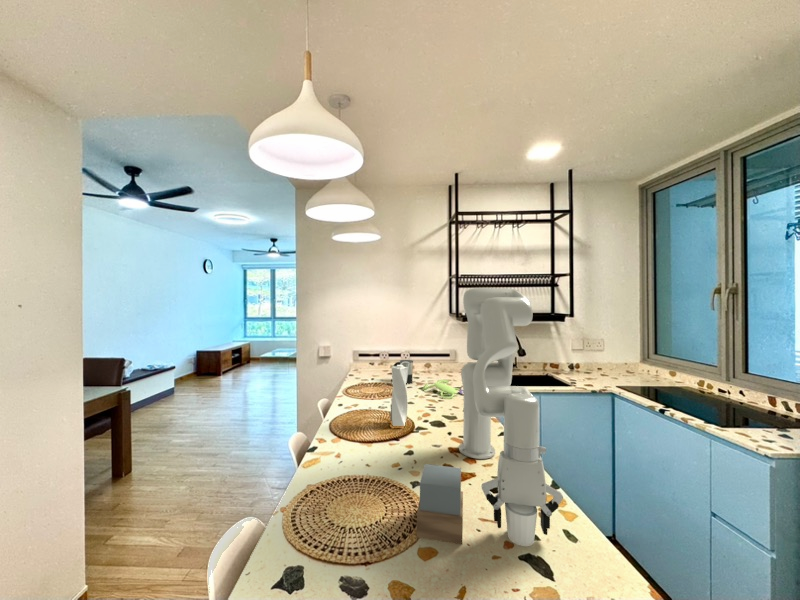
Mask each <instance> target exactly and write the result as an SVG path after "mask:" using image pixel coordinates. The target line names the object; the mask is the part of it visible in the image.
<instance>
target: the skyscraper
mask: <svg viewBox="0 0 800 600" xmlns="http://www.w3.org/2000/svg"><path fill="white" fill-rule="evenodd" d="M402 363H409V362H407V361H404V362H402ZM402 363H401V365H397V366H394V365H391V379H392V381H391V383H392V394H391V403H390V414H389V417H390V419H389V422H390V421H392V425H393V426H405V422H406V423H407V416H408V415H407V414H408V393H407V391H408V390H407V384H406V383H407V376H408V367H409V364H410V363H409V364H408V367H403V365H402Z"/></svg>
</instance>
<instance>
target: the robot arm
mask: <svg viewBox="0 0 800 600" xmlns="http://www.w3.org/2000/svg"><path fill="white" fill-rule="evenodd" d="M462 298H463V299H462V300H463V301H462V302H463V308H464V311H465V312H464V313H465V315H466V318H467V333H466V334H467V338H466V353H467V356H468V358H469V359H471V360H473V362H468V363H465V364H464V365H463V366H462V368H461V372H460V373H461V374H460V376H461V381H462V390H463V394H462V395H463V423H462V424H463V426H462V427H463V431H462V432H463V433H462V434H463V439H462V441H463V442H461V443H460V444H459V445H458V451H459V453H461V454H462V455H464V456H466V457H468V458H471V459H472V458H473V459H478V460H486V459H491V458H493V457H494V456H495V454H496V449H495V447H494V446H493V445H492V444H491V441H492V438H491V437H492V436H491V434H492V432H491V429H492V428H491V427H492V424H491V423H492V418H503V450H501V451H500V452H499V456H498V457H499V458H498V461H497V462H498V464H497V474H496V478H493V479H490V480H488V481H485V482H483V483H482V484H481V490H482V492H483V494H484V496H485V498H486V500H487V501H488V502H489V504H491V506H492V507H493V521H494V522H496V526H497V528H498V529H501V528H502V509H501V507H502V506H503V505H505V502H506V503H512V504H520V505H528V506H536V508H537V507H539V508H540V527H541V530H542V533H543V534H544V535H545V536H548V530H549V529H551V519H550V518H551V517H552V515H553V513H554V512H555V511H556V510H557V509H559V507H560V506H559V505H560V504H561V503H562V502H563V499H564V496H563V494H562V492H560V491H559V490H557V489H555V488H554V487H552V486H550V485H549V484H547V482H546V473H545V467H544V461H543V458H542V456H541V455H543V454H547V448H546V447H545V446H542V445H540V402H539V400H538V399H537V397H536V396H533V394H532V393H531V391H530V389H528V388H527V387H524V386H518V385H517V386H516V385H511V384H512V380H513V369H514V368H513V367H514V366H513V365H514V355H515V352H517V350H518V341H517V336H516V332H515V327H526V326H529V325H530V324H531V323H532V321H533V319H534V318H533V316H534V315H533V307H532V305H531V302H530V301H529V300H528V298H527V296H525V295H523V293H522V292H519V291H518V290H517V289H514V288H507V287H506V288H503V287H502V288H500V287H498V288H497V287H476V288H470V289H467V290H466V291H465V292H464V294H463V297H462ZM495 488H496V490H497V493H496V494H495V495H493V493H492V492H491V491H490V490H493V489H495ZM547 494H549V495H551V496H552V499H551V500H550V501H548V502H547Z"/></svg>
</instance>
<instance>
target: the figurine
mask: <svg viewBox="0 0 800 600" xmlns="http://www.w3.org/2000/svg"><path fill="white" fill-rule="evenodd" d="M448 384H450V380H447V379H438V380H437V382H434V383H432V384H431V385H429V383H428V382H427V383H425V384H424V386H423V387H422V391H427V390H428V389H431V388H433V387H435V388H436V389H438V390H439V391H440V397H441V398H442V399H443V398H444V399H443V400H451V399H452V398H454V397H455V395H457V394H461V395H464V394H463V388H457V387H452V386H450V385H448ZM428 385H429V386H428ZM443 393H444V394H443ZM445 396H447V397H445Z"/></svg>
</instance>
